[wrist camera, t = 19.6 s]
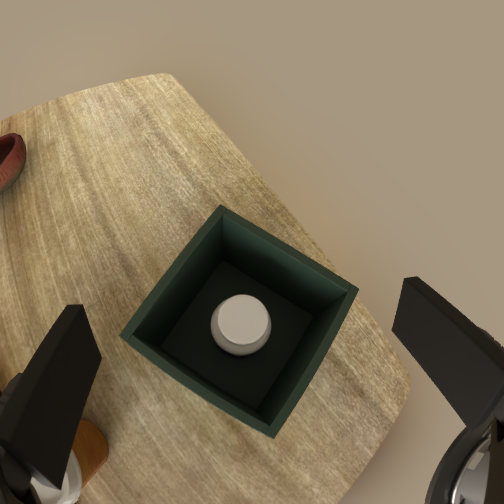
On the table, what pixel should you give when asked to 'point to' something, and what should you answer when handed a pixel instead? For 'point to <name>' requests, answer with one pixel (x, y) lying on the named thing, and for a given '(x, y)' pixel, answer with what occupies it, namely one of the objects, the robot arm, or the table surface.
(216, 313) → the pill bottle
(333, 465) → the table surface
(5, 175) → the bowl
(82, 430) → the disposable coffee cup
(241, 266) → the waste bin
